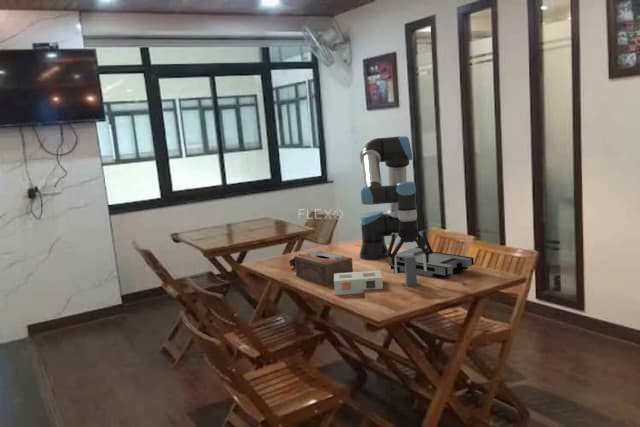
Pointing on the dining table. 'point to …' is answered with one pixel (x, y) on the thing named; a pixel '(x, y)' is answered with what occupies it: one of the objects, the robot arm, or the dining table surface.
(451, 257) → the office tray
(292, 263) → the pottery mug
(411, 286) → the plate
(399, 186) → the robot arm
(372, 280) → the socket block
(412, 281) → the plug
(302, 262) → the tissue box cover
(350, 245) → the dining table surface
